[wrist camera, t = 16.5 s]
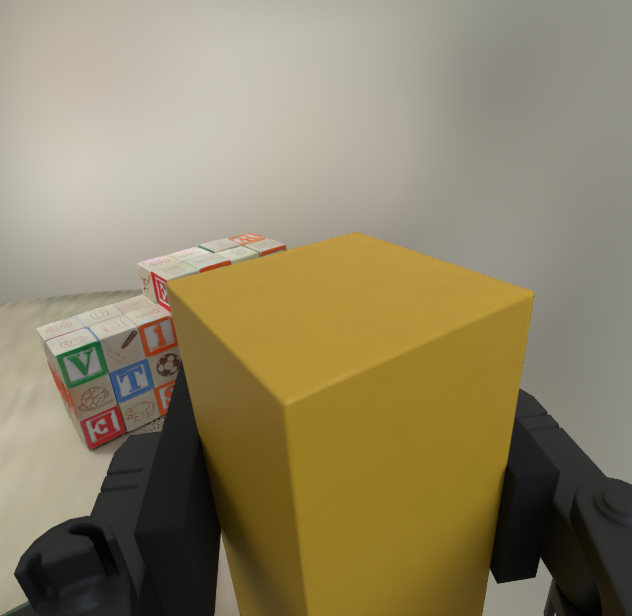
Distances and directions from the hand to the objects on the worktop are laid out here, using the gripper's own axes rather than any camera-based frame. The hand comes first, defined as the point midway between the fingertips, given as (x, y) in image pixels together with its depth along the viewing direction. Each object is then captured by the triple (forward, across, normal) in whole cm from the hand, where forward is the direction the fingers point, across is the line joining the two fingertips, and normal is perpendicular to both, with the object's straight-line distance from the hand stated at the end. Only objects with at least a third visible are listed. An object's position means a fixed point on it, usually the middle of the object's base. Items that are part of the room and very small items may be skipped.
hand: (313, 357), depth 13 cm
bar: (-5, 0, -6) cm, 8 cm away
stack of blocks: (+27, -10, -18) cm, 34 cm away
